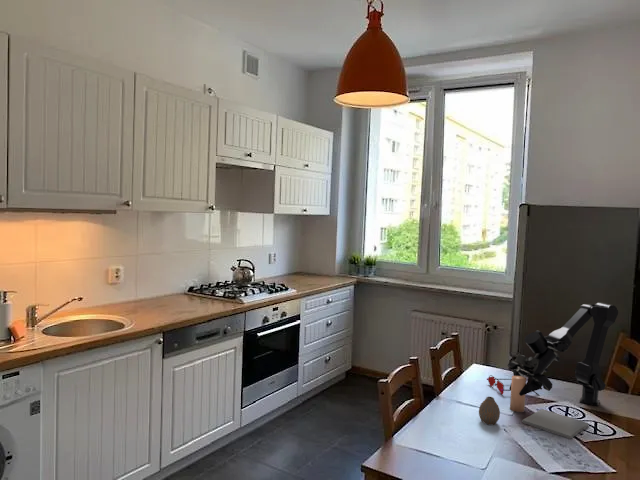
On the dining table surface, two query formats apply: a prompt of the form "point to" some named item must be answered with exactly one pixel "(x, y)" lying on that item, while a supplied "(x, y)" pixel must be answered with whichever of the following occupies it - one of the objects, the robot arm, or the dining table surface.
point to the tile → (555, 423)
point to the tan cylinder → (517, 394)
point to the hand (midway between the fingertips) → (515, 392)
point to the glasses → (499, 384)
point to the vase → (489, 411)
